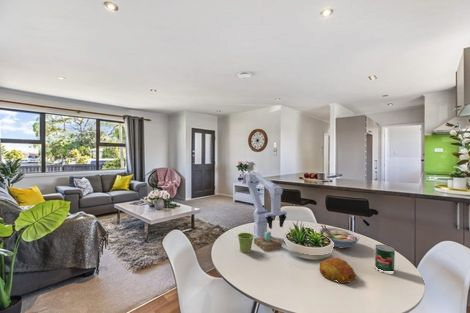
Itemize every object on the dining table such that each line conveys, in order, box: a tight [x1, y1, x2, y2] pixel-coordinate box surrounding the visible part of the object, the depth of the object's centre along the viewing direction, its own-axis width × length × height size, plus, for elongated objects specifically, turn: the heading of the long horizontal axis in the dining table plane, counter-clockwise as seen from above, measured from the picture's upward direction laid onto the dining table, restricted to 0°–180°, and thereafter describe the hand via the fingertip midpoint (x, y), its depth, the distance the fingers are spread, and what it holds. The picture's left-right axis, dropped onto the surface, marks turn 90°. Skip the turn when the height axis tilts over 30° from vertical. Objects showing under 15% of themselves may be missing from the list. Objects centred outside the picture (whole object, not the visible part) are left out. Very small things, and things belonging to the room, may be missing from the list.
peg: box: [265, 230, 272, 243], centre depth 137 cm, size 4×4×8 cm
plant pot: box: [237, 232, 255, 254], centre depth 130 cm, size 9×9×9 cm
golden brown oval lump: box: [319, 257, 357, 284], centre depth 105 cm, size 14×16×8 cm
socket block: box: [253, 235, 282, 252], centre depth 137 cm, size 12×12×3 cm
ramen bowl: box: [318, 224, 361, 248], centre depth 139 cm, size 25×23×8 cm
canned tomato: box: [374, 244, 396, 272], centre depth 110 cm, size 8×8×11 cm
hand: (275, 227), depth 139 cm, fingers open, 7 cm apart
